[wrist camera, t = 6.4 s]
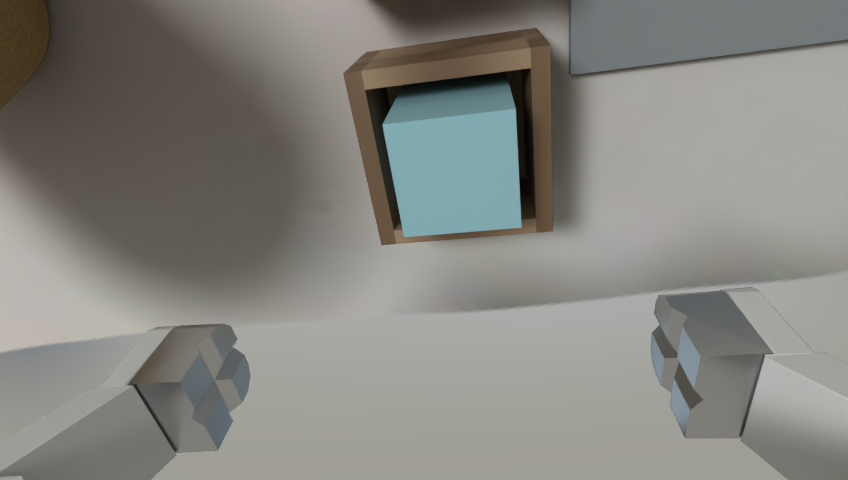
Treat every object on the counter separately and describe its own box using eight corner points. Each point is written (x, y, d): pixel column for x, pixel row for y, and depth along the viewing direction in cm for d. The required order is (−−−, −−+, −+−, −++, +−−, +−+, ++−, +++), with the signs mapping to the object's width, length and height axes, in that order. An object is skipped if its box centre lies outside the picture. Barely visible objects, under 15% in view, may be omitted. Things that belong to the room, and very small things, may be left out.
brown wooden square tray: (535, 26, 18) (550, 45, 15) (539, 184, 22) (552, 231, 18) (367, 50, 19) (343, 73, 16) (395, 198, 23) (381, 245, 19)
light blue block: (505, 69, 19) (515, 108, 14) (510, 164, 21) (521, 227, 16) (404, 82, 19) (382, 124, 15) (419, 174, 21) (404, 237, 17)
